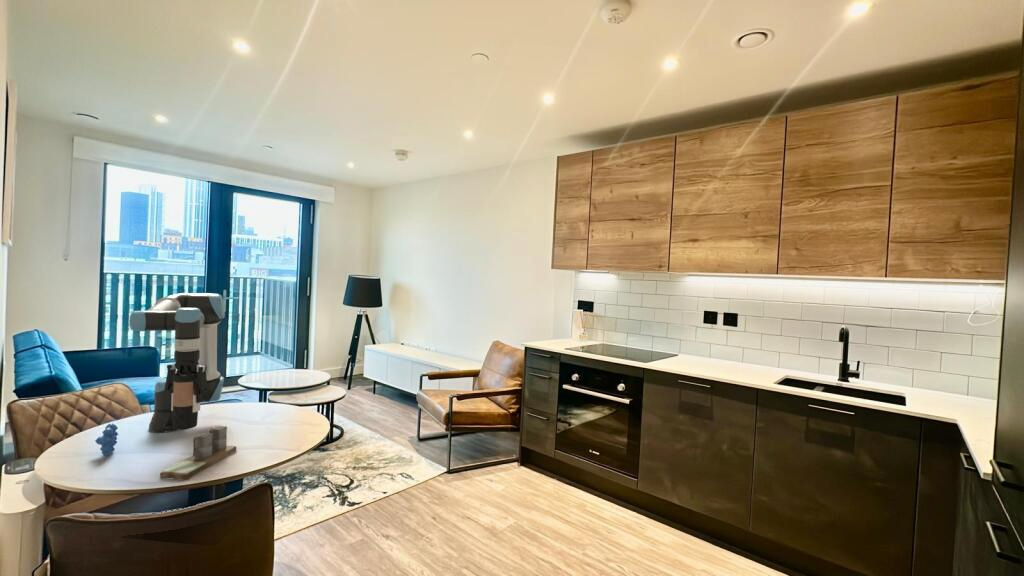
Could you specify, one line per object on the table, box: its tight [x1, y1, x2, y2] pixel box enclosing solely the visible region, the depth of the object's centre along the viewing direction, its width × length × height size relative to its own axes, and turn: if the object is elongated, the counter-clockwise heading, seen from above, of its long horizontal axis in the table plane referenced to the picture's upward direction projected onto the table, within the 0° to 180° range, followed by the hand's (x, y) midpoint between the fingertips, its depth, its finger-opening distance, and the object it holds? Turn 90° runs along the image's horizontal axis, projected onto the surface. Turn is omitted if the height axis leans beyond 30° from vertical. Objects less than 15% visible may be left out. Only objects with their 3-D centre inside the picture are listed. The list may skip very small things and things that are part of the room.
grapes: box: [94, 422, 119, 457], centre depth 174 cm, size 12×7×12 cm, turn 29°
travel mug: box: [173, 374, 199, 431], centre depth 161 cm, size 8×8×20 cm
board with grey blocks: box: [159, 425, 237, 481], centre depth 170 cm, size 10×26×11 cm, turn 176°
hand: (185, 410), depth 162 cm, fingers closed on travel mug, 8 cm apart
